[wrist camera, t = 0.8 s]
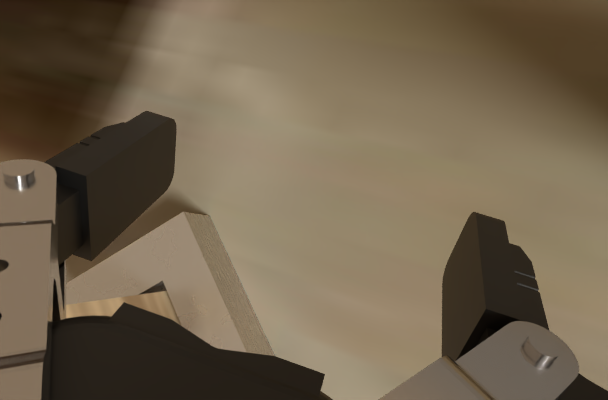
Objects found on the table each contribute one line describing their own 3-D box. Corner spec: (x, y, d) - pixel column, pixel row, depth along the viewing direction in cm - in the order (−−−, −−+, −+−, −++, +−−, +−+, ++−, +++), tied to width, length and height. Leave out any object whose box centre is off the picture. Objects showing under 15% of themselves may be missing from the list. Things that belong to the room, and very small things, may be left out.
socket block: (209, 215, 37) (183, 211, 33) (275, 357, 35) (254, 370, 31) (94, 285, 40) (57, 288, 36) (147, 423, 37) (114, 442, 33)
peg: (181, 288, 36) (29, 310, 23) (200, 332, 35) (53, 380, 22) (145, 309, 37) (-24, 342, 24) (162, 352, 36) (-2, 411, 23)
